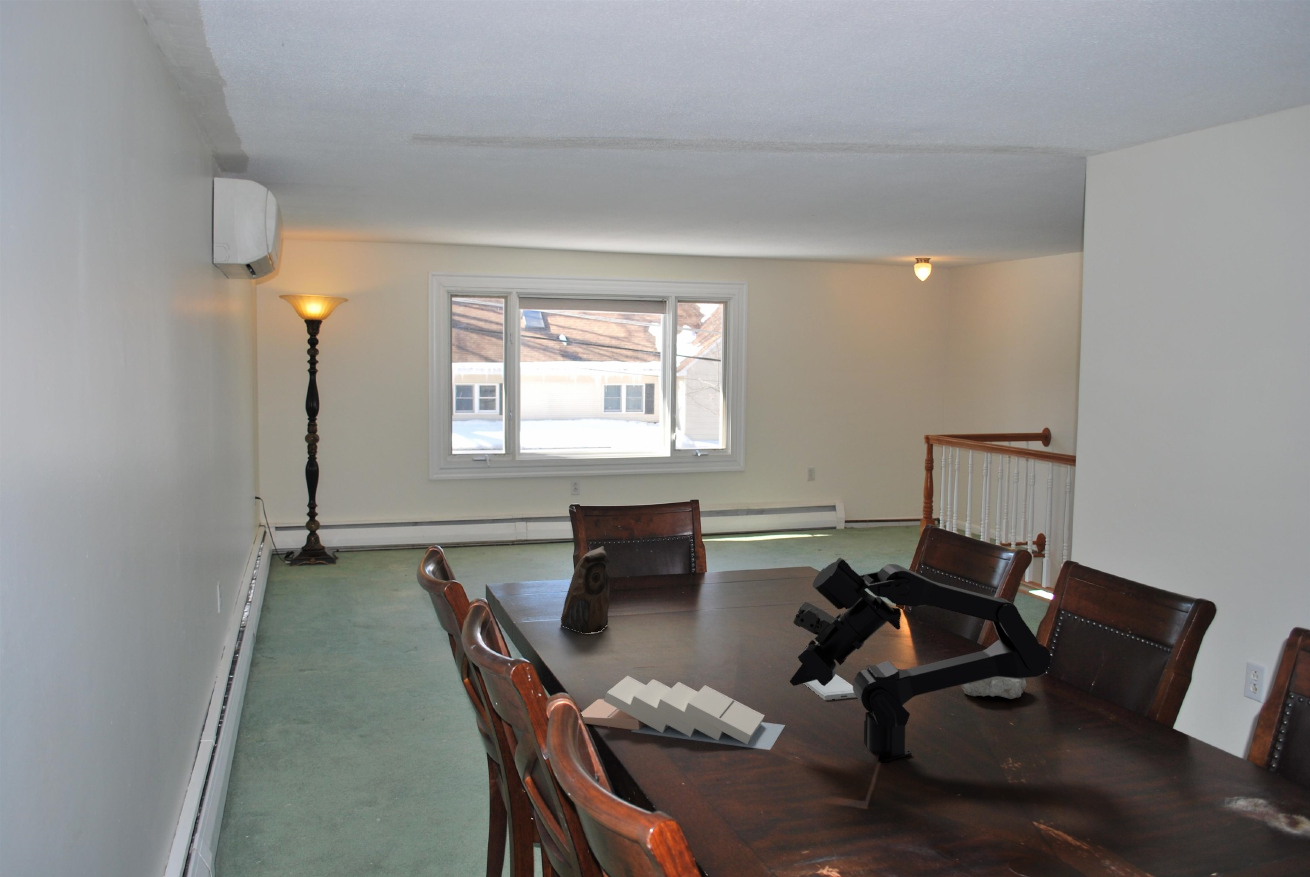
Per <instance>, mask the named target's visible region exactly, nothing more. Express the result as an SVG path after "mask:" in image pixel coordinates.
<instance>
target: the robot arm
mask: <svg viewBox="0 0 1310 877" xmlns="http://www.w3.org/2000/svg"><path fill="white" fill-rule="evenodd" d="M812 588H813V589H814V590H816V592H818V593H819V594H820V595H821V596H822V597H823V598H824V599H826V600H827V601H828V602H829V603H830V604H831V605H832V606H833V607H835V608H836V610H842V609H845V610H846V611H844V612H843V613H842V614H841V613H839V614H838V615H836V616H835V617H834V616H833V615H831V614H829V613H828V612H826V611H824V610H823V609H822V608H819V607H817V606H816V605H814V604H812V603H810V602H807V601H805V602H803V603H802V604H801V605H800V607H799V608H798V611H797V613H796V614H795V617H794V620H793V624H794V625H795V626H796V627H798V628H803V629H804V630H806V631H807V632H810V633H811V634H812V635H816V636H815V637H814V640H813V639H811V640H810V641H809V643H808V645H806V646H805V648H803V650H802V651H801V652H800V653H799V655H798V656H797V658H798V661H799V662H800V663H801V664H800V667H798V669H797V670H796V672H795V673H794V674H793V676H792V677H791V678H790V680H789V683H790V684H791V685H792V686H793V687H795V686H799V685H804V684H803V683H806V682H810V681H814V680H818V682H819V683H820V684H821V685H823V686H825V685H826V684H828V683H829V682H830V681H831V680H832V679H833V678H834V676H835V674H836V675H837V663H838V665H839V666H841V665H842V664H844V662H845V661H847V659H848V658H849V657H850V656H851V655H852V654H853V653H854V652H856V651H857V650H860V649H861V648H862V647H863V646H864V644H865V643H866V642H867V641H869V640H870V638H872V637H873V635H875V634H876V633H877V632H878V631H880V629H881V628H883V627H884V626H885V625H886V624H887V623H889V624H890V625H891V626H892V627H893V628H894V629H896V630H898V631H899V630H900V629H901V617H902V612H901V608H900V607H893V606H890V605H889V604H888V603H887V602H886V601H885V600H884V599H883V598H885V599H887V600H888V601H890V602H891V603H892V604H894V605H897V606H904V607H905V606H907V607H915V608H916V607H918V608H919V607H935V608H939V609H942V610H947V611H951V612H954V613H959V614H962V615H966V616H970V617H974V618H978V619H982V620H985V621H989V622H992V624H993V627H994V630H995V633H996V636H998V638H999V639H998V640H996V641H994V642H993V643H992V644H991V645H990V646H988V647H986V649H983V650H980V651H975V652H972V653H967V654H963V655H959V656H956V657H952V658H948V659H947V658H946V659H944V660H939V661H935V662H931V663H930V662H929V663H926V664H921V665H917V666H913V667H909V668H904V669H903V668H897V667H896V666H895V665H894V664H893V663H892V662H891V660H885V661H883V662H880V663H877V664H872V665H871V664H866V665H865V667H866V668H865V669H862V670H859V672H857V674H856V676H855V677H854V679H853V681H852V686H853V691H854V694H855V695H856V697H855V698H857V699H858V701H859V703H861V705H862V706H863V708H864V709H865V711H866V712H865V717H864V718H865V719H864V720H863V721H864V722H863V731H864V732H863V736H864V737H863V743H864V745H865V746H866V747H867V749H868V750H869V751H870V752H872V753H873V754H876V755H879V756H878V759H877V760H878V761H880V762H883V763H888V762H891V761H895V760H899V759H902V758H906V757H908V756H912V755H913V751H911V750H910V749H907V748H906V726H907V724H908V722H909V719H910V716H911V713H910V712H909V711H908V709H906V707H905V706H904V705H905V704H907V703H908V702H909V701H911V700H912V699H913V698H915V697H918V696H923V695H925V694H930V693H934V692H937V691H942V690H946V689H950V688H955V687H958V686H960V685H964V684H968V683H972V682H976V681H980V680H984V679H988V678H993V677H1008V678H1025V679H1030V678H1033V679H1034V678H1039V677H1042V676H1044V675H1045V674H1046V673H1047V671H1048V670H1049V668H1050V666H1051V663H1052V662H1051V660H1052V659H1051V653H1050V650H1049V649H1048V648H1047V647H1046V646H1044V645H1043V644H1041V643H1040V642H1039V641H1038V639H1037V638H1036V635H1035V634H1034V632H1033V631H1032V630H1031V628H1030V627H1029V626H1028V624H1026V622H1025V620H1024V619H1023V617H1022V616H1021V614H1020V612H1019V609H1018V607H1017V606H1016V605H1015V604H1014V603H1012V602H1010V601H1008V600H1007V599H1005V598H1004V597H1003V598H1002V597H994V596H991V595H986V594H983V593H978V592H975V591H971V590H967V589H964V588H959V587H957V586H952V585H948V584H944V583H940V582H936V581H933V580H931V579H928V578H927V577H925V576H923V575H920V574H919V573H916V572H914V571H912V570H910V569H908V568H905V567H904V566H901V565H899V564H896V563H895V564H894V563H889V564H886V565H884V566H883V567H881V569H880V570H878V571H873V572H870V573H869V572H868V573H864V574H858V573H857V572H856V571H855V570H854V569H853V568H852V567H851V566H850V564H849V563H848V562H847V561H846V560H844V559H843V558H842V557H838V558H837V559H836V560H835V561H834V562H831V563H830V564H828V565H827V566H826V567H823V568H822V569H821V570H820V571H819V572H818V574H817V576H815V579H813V582H812ZM866 589H867V590H869V592H870V593H872V594H873V595H874V596H873V595H871V594H870V593H869V592H868V591H867V590H866Z"/></svg>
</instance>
